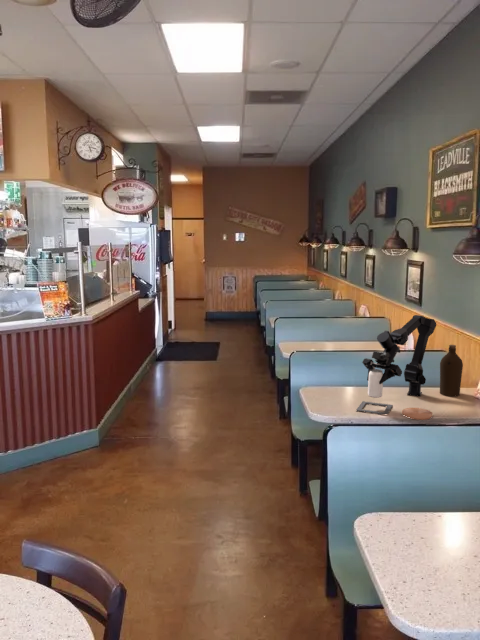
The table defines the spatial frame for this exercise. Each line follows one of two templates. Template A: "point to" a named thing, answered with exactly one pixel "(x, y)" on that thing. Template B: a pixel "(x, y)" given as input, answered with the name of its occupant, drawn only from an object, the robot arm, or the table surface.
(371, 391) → the can
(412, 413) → the plate
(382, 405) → the gray square frame
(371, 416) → the table surface
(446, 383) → the olive oil
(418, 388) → the robot arm
